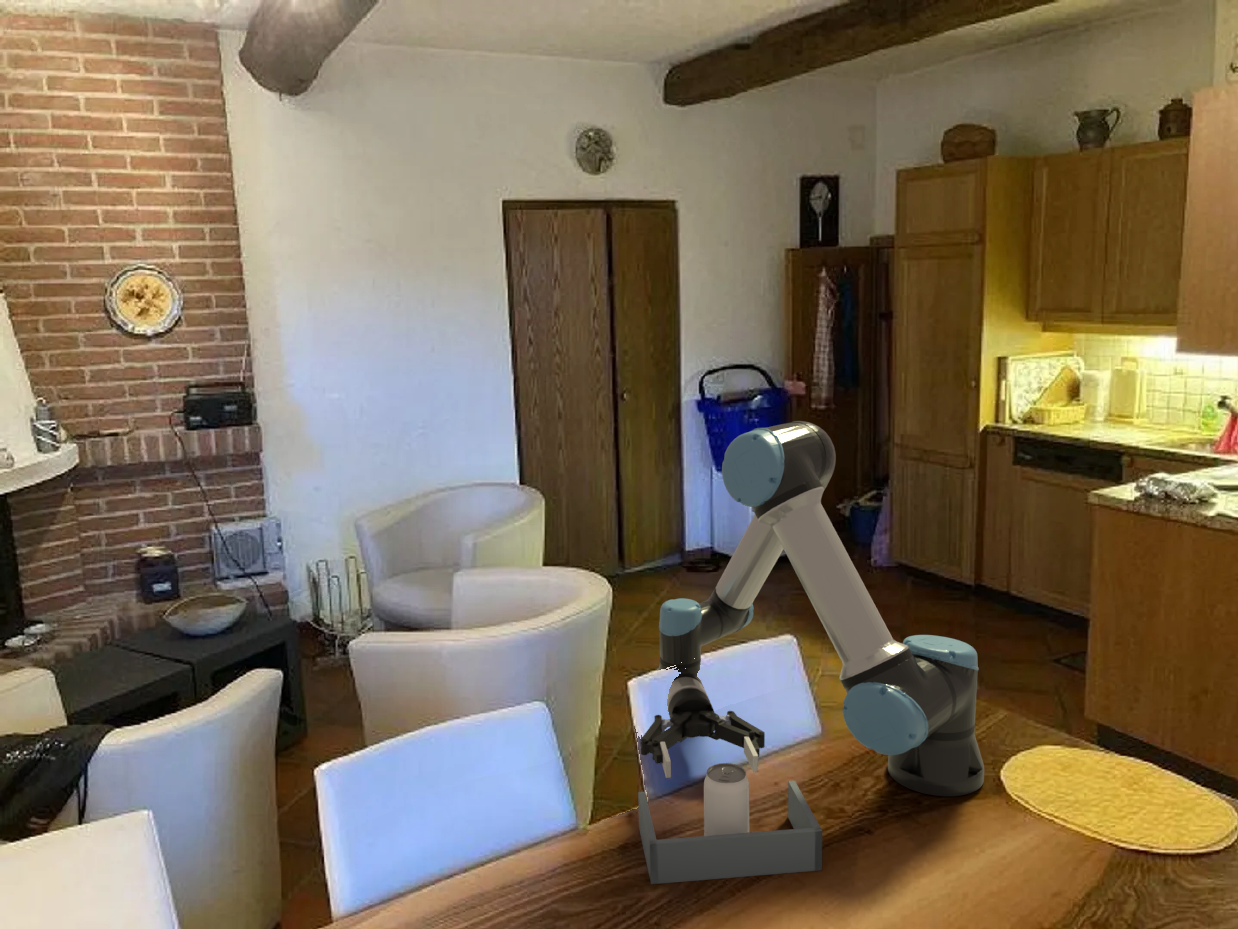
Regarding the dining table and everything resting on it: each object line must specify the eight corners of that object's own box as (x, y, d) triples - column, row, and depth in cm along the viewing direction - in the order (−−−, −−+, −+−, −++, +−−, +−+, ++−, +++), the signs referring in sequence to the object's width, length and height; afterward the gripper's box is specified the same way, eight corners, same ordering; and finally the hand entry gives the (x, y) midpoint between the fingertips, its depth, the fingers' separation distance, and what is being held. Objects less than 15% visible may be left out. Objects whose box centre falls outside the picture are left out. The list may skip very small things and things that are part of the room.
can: (753, 840, 145) (753, 765, 142) (744, 865, 139) (743, 786, 136) (710, 833, 147) (709, 759, 144) (699, 857, 141) (698, 780, 138)
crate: (639, 828, 148) (638, 792, 147) (794, 816, 151) (794, 780, 149) (651, 884, 135) (650, 844, 134) (821, 870, 137) (822, 831, 136)
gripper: (758, 723, 173) (791, 784, 153) (618, 731, 171) (631, 794, 150) (759, 683, 172) (792, 739, 151) (617, 691, 170) (631, 749, 149)
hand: (712, 767), depth 151 cm, fingers open, 13 cm apart
